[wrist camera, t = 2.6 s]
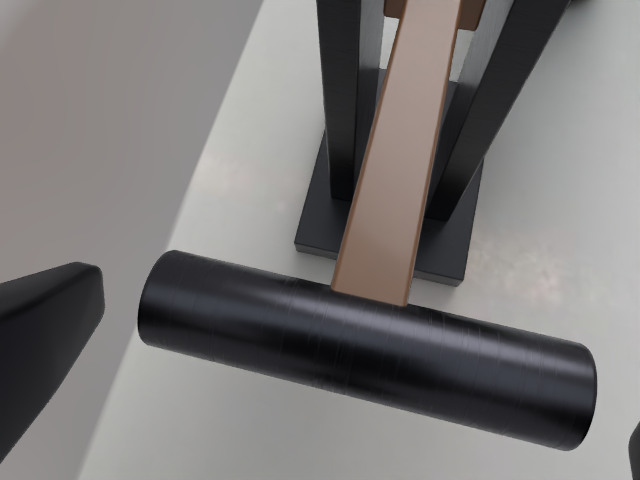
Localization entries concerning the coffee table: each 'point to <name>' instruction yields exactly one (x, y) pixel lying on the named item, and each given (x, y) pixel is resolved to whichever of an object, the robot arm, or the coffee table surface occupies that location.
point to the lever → (381, 286)
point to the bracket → (454, 134)
